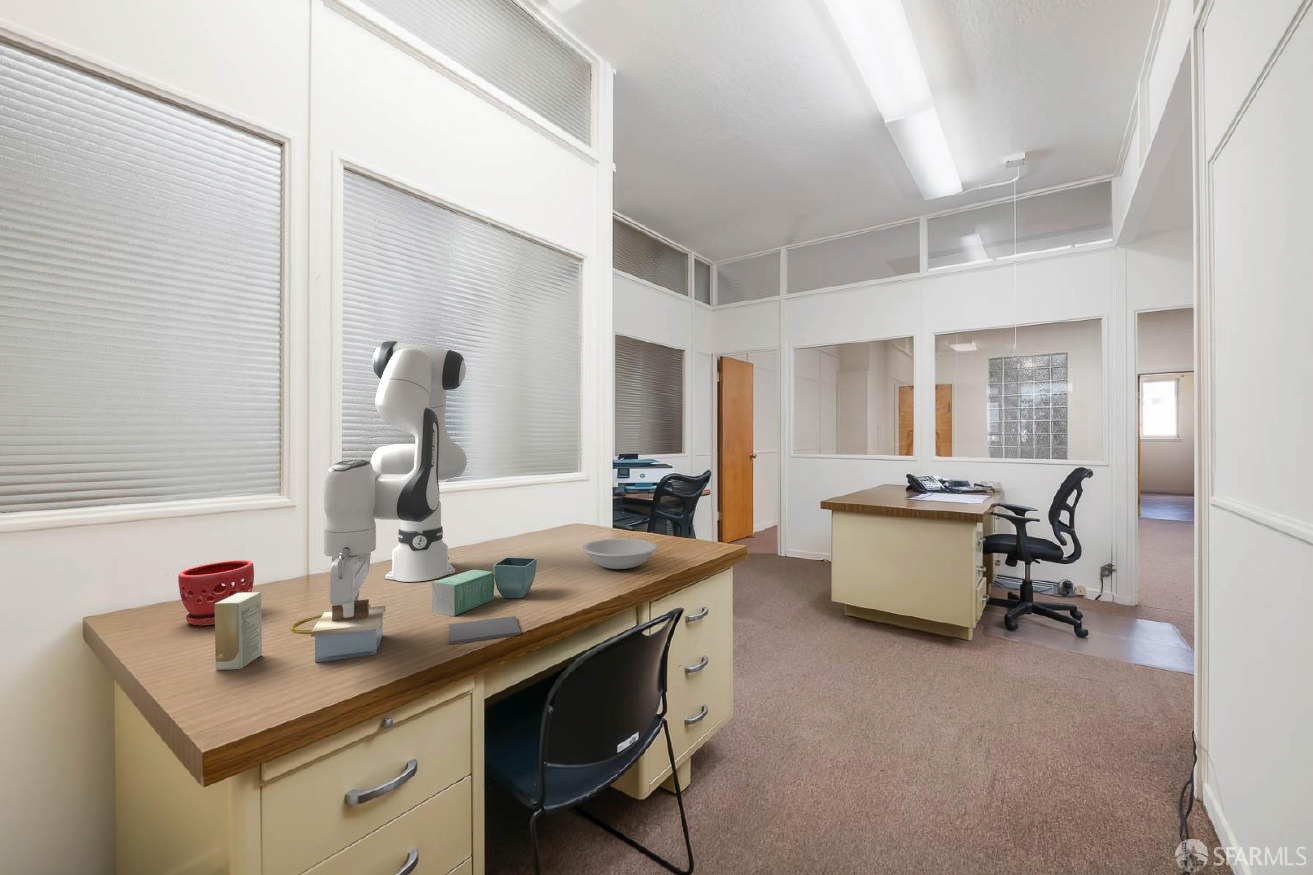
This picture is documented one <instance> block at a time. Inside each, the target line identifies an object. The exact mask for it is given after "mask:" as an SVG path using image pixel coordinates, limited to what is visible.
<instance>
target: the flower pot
mask: <svg viewBox="0 0 1313 875" xmlns="http://www.w3.org/2000/svg"><path fill="white" fill-rule="evenodd" d="M537 562H538V558H534V557H514V556H513V557H510V556H509V557H508V556H506V557H504V558H503V559H501V560H500V561H497V562H496V563H494V564H493V574H494V584H495V585H496V586H495V587H496V589H497V591H498V593H499V594H500V595H501V597H502V598H503V599H506V598H507V599H522V598H523V597H525V596H526V595H527V594H528V593H529V591H530V590H531V588H532V586H533V584H534V580H535V577H536V569H537Z"/></svg>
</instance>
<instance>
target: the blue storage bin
mask: <svg viewBox="0 0 1313 875" xmlns="http://www.w3.org/2000/svg"><path fill="white" fill-rule="evenodd" d="M383 618H384V617H383ZM383 618H382V621H381V624H380V626H379V629H373V630H365V631H357V632H349V633H340V634H332V635H324V636H315V637H314V663H322V662H323V663H324V662H330V661H337V660H343V659H345V660H346V659H353V658H358V657H365V656H374V655H377V653H378V649H379V647H380V644H381V641H382V638H383V629H384V628H383V620H384V619H383Z"/></svg>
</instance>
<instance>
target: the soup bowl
mask: <svg viewBox="0 0 1313 875" xmlns="http://www.w3.org/2000/svg"><path fill="white" fill-rule="evenodd" d="M658 547H659V545H658V544H656V543H655V542H653V541H650V540H645V539H640V538H629V537H628V538H625V537H623V538H621V537H620V538H618V537H617V538H604V539H597V540H593V541H589V542H586V543H584V544H583V545H581V550H582V551H583V552H584V553H586V554H587V556H588V557H589V559H590V560H592V562H593V563H594V564H596V565H598V566H599V567H601V568H606V569H611V570H626V569H627V570H628V569H633V568H636V567H639V566H641V565H643V564H644V563H646V562H647V561H648V560H649V559H650V558H651V556H652V555H653V553H654V552H655V551H657V550H658V549H659V548H658Z"/></svg>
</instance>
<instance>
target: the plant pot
mask: <svg viewBox="0 0 1313 875" xmlns="http://www.w3.org/2000/svg"><path fill="white" fill-rule="evenodd" d="M254 567H255V566H254V563H253V561H252V560H243V559H240V560H239V559H238V560H237V559H236V560H226V561H218V562H214V563H212V562H211V563H206V564H203V565H202V564H201V565H198V566H195V567H190V568H187V569H184V570H183V571H181V572H180V573H179V574H178V577H177V578H178V579H177V582H178V583H177V584H178V588H179V595H180V599H181V601H182V604H183V606H184V608H185V610H186V611H187V612H188V614H187V615H186V616H185V620H186V621H187V623H189V624H190V625H194V626H213V625H214V626H215V603H217V602H219V601H221V600H223V599H225V598H228V597H230V596H232V595H234V594H236V593H246V592H253V588H254V583H255V580H254V579H255V569H254ZM232 584H233V585H232Z"/></svg>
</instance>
